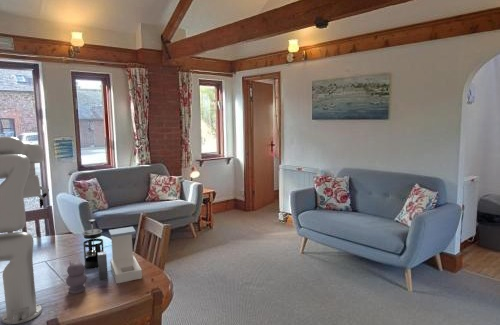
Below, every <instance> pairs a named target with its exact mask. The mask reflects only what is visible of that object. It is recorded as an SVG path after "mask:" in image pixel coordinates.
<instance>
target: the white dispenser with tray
mask: <svg viewBox="0 0 500 325" xmlns="http://www.w3.org/2000/svg"><path fill="white" fill-rule="evenodd" d="M108 234H109V236H110V238H111V246H112V247H111V250H112V259H110V269H111V272H112V275H113V277H114V280H115V283H116V284H123V283H126V282H131V281H134V280H141V279H142V278H143V272H142V271H143V269H142V267H141V266H140V264H139V262H138V261H137V259H136V256H135V255H134V252H133V250H134V249H133V235H135V234H137V231H136V230H135V228H134V226H128V227H127V226H126V227H120V228H114V229H108Z"/></svg>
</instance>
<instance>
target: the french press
mask: <svg viewBox="0 0 500 325" xmlns="http://www.w3.org/2000/svg"><path fill="white" fill-rule="evenodd" d="M86 221H87V223H90V224H91V229H87V230H85V231H82V235H83V238H84V239H86V240H84V241H83V243H82V244H83V245H82V246H83V257H84V264H83V265H84V268H85V269H89V270H91V269H98V255H97V253H99V252H105V250H104V239H102V238H100V237H102V233H103V230H102V229H99V228H94V229H93V227H94V226H93V223H94V222H97V219H95V218H91V219H88V220H86ZM95 242H98V243H95ZM86 248H88V250H87V251H86Z"/></svg>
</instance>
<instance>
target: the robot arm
mask: <svg viewBox="0 0 500 325" xmlns="http://www.w3.org/2000/svg"><path fill="white" fill-rule="evenodd" d="M44 159H45V151H44V149H43V147H42V145H41V144H39V143H38V144H37V143H32V142H26V141H22V140H21V139H20V138H17V137H15V136H0V180H3V181H2V182H1V183H0V262H7V261H8V263H7V265H6V266H5V267H4V269H3V271H2V282H3V283H2V284H3V292H4V300H5V312H4V313H3V314H2V316H1V322H2V323H4V324H6V325H19V324H23V323H27V322H28V321H31V320H33V319H35V318H37V317H38V316H39V315H40V314H41V313H42V310H43V308H42V306H41V304H38V303H37V295H36V294H37V293H36V284H35V275H34V274H35V273H34V264H33V263H34V262H33V259H34V258H33V257H34V256H33V255H34V254H33V253H34V244H35V243H34V237H33V235H32V234H31V233H29V232H26V231H20V230H22V229H24V228H25V226H26V222H27V220H26V218H27V216H26V209H25V208H26V207H25V200H24V199H27V198H36V197H37V198H39V207H40V209H42V208H43V206H44V204H45V203H44V199H45V197H47V195H48V193H49V191H50V189H49V188H47V187H44V186H41V184H40V179H39V175H38V174H37V173H36V164H41V163H43V161H44ZM41 190H42V191H44V193H43V194H41Z"/></svg>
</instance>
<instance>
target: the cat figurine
mask: <svg viewBox="0 0 500 325" xmlns="http://www.w3.org/2000/svg"><path fill="white" fill-rule="evenodd" d="M84 265H85V264H83V263H82V262H79V261H75V262H72V261H70V260H69V265H68V267H67V269H66V272H67V274H68V275H67V277H66V280H65V283H66V285H67V286H68V293H69V294H71V295H72V294H73V295H74V294H79V293H82V292H84V291H85V290H86V285H85V284H86V282H87V280H88V278H87V275H86V273H85V269H86V268H85V267H84Z"/></svg>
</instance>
